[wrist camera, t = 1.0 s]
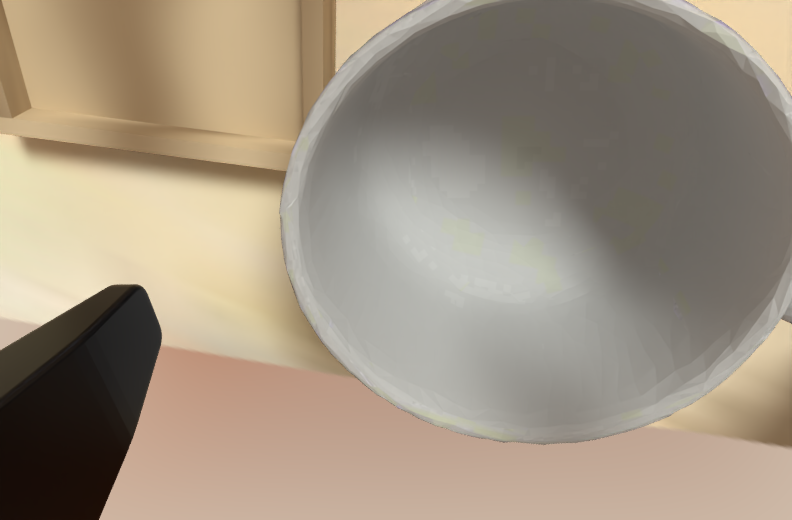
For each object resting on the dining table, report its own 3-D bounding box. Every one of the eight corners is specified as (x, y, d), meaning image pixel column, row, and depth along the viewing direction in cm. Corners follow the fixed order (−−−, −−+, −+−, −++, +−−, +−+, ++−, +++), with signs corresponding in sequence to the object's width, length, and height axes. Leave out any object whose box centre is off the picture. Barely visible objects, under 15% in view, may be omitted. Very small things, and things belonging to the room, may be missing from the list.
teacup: (319, 210, 22) (239, 364, 15) (412, -134, 16) (342, -122, 9) (678, 334, 22) (748, 533, 16) (904, 50, 16) (1170, 184, 10)
